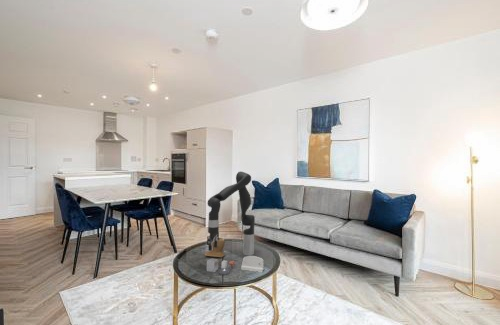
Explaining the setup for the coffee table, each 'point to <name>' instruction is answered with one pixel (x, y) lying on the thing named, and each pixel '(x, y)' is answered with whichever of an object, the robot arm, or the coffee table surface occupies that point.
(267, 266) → the coffee table surface
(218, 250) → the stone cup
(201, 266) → the coffee table surface
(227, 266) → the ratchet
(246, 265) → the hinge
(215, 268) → the socket
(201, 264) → the coffee table surface
